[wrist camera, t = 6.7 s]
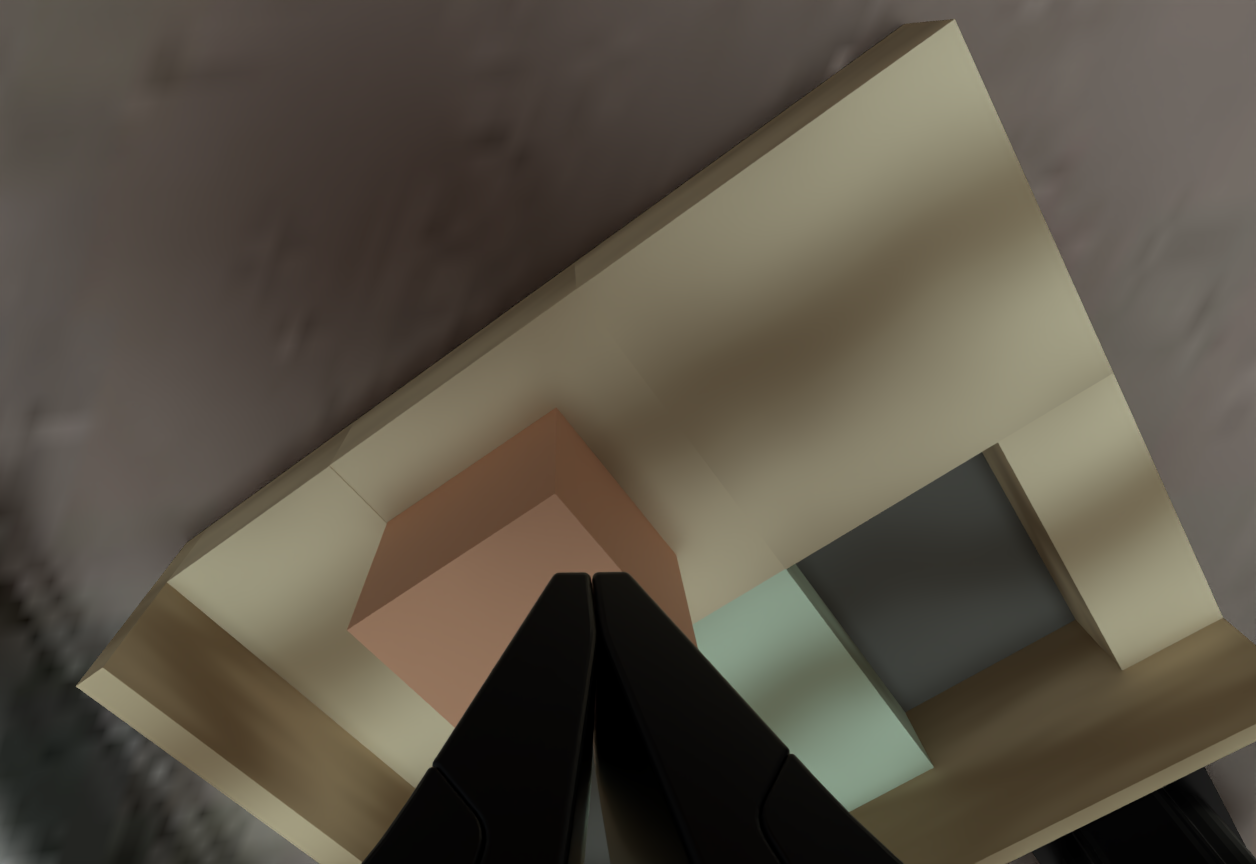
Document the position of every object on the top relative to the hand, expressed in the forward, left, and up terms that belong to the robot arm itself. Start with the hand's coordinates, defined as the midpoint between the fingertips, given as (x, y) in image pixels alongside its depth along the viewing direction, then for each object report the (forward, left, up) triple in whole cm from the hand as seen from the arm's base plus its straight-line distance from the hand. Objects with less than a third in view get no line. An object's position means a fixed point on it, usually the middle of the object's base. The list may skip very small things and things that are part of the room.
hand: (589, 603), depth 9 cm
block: (-3, +4, -9) cm, 11 cm away
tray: (-8, +1, -12) cm, 14 cm away
